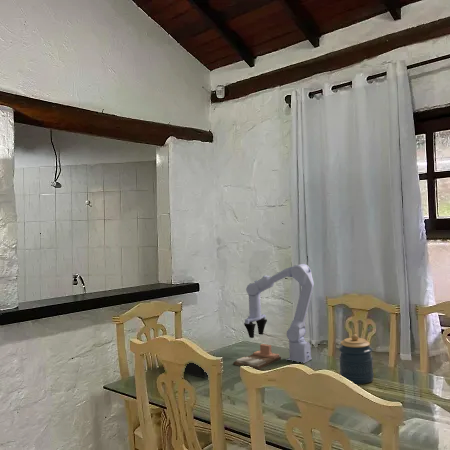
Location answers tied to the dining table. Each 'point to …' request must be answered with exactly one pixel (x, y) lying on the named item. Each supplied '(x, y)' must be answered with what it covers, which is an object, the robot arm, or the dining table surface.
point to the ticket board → (255, 361)
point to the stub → (266, 351)
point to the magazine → (195, 370)
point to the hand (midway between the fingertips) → (256, 336)
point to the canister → (356, 360)
